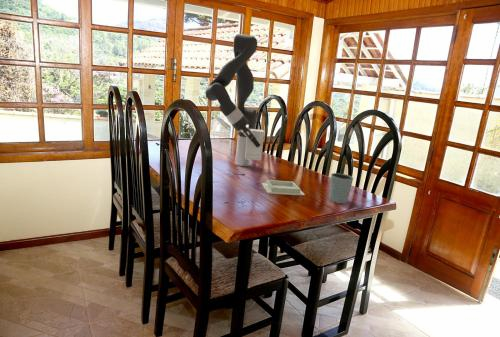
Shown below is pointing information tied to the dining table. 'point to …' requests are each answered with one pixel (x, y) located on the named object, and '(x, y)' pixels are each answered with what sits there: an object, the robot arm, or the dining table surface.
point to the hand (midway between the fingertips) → (257, 144)
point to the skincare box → (251, 149)
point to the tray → (282, 187)
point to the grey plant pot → (340, 187)
